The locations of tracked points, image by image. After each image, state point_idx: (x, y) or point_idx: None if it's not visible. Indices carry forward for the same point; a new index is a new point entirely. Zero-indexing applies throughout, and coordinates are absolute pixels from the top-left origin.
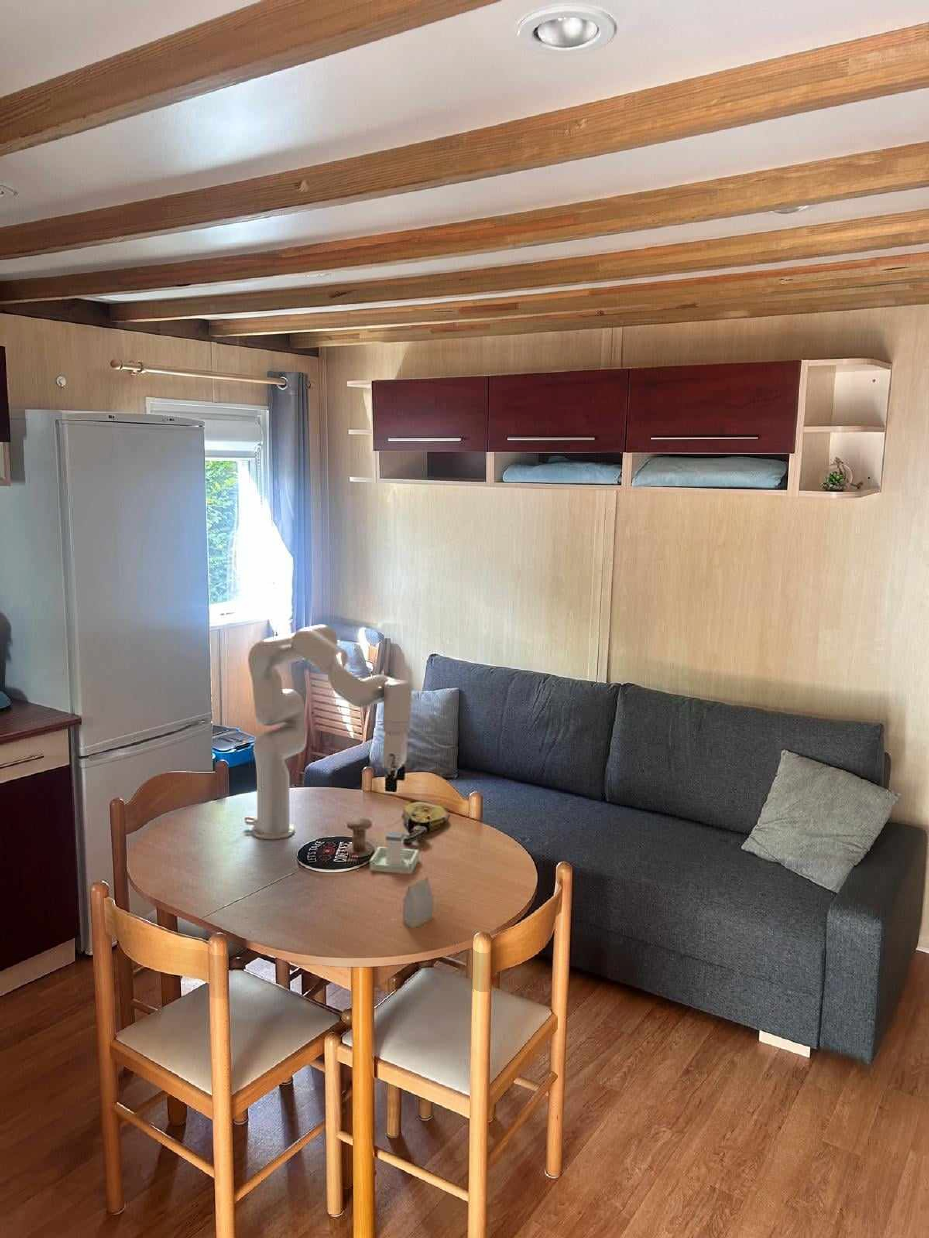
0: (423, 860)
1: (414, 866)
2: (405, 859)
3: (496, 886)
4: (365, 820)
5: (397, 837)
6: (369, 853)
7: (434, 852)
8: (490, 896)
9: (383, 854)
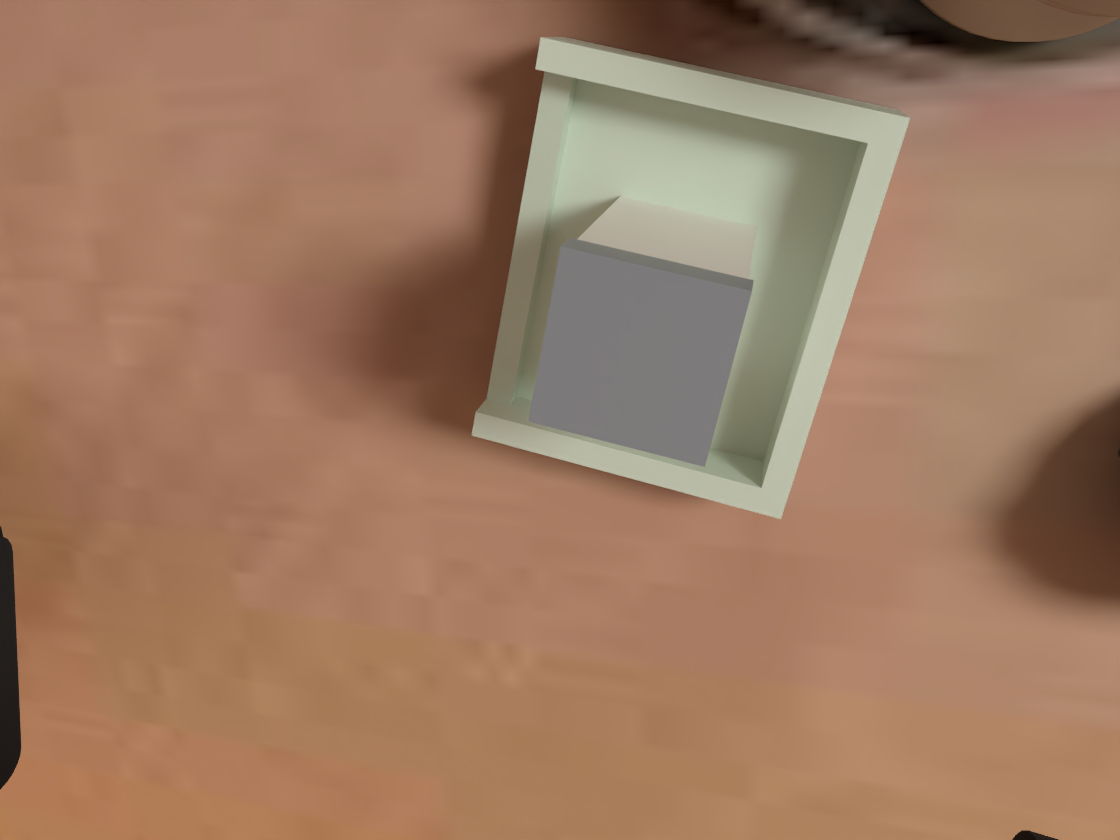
0: None
1: None
2: None
3: None
4: None
5: (535, 382)
6: (931, 7)
7: (945, 618)
8: (216, 828)
9: (854, 166)
